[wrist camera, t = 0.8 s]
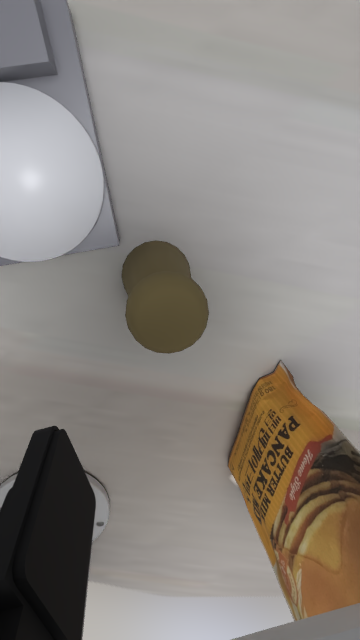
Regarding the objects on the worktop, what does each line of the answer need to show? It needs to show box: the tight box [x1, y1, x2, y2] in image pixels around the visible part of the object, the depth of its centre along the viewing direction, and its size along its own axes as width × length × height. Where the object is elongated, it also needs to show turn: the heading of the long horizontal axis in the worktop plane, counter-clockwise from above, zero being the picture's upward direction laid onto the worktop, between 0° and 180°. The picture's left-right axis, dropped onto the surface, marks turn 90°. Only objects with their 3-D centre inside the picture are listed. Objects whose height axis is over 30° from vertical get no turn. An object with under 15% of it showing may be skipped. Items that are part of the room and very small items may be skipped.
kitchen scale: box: [0, 0, 120, 266], centre depth 23 cm, size 15×11×5 cm
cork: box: [122, 241, 209, 353], centre depth 25 cm, size 6×6×11 cm
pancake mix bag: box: [228, 361, 360, 621], centre depth 25 cm, size 7×19×28 cm, turn 167°
